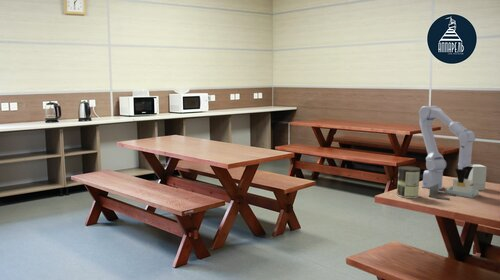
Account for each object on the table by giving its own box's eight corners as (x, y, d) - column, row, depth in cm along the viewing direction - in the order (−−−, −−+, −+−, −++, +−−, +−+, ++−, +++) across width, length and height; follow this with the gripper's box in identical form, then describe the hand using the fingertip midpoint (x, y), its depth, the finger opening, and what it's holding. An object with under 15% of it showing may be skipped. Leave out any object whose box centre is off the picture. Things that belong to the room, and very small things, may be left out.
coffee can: (393, 196, 243) (395, 168, 241) (400, 192, 252) (402, 165, 250) (414, 199, 238) (416, 170, 236) (421, 195, 246) (423, 167, 244)
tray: (445, 193, 251) (445, 189, 250) (451, 190, 258) (452, 186, 258) (473, 198, 242) (473, 193, 242) (478, 194, 250) (478, 190, 250)
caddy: (452, 192, 251) (453, 179, 250) (455, 190, 255) (456, 177, 254) (471, 195, 245) (472, 181, 244) (474, 193, 249) (475, 180, 248)
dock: (429, 196, 243) (429, 186, 243) (436, 192, 252) (437, 183, 251) (449, 200, 237) (450, 190, 237) (456, 196, 246) (457, 186, 245)
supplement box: (485, 190, 260) (487, 166, 259) (471, 189, 261) (473, 166, 259) (479, 187, 268) (481, 164, 266) (465, 186, 268) (467, 163, 266)
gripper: (469, 157, 240) (467, 184, 242) (477, 154, 251) (475, 180, 253) (454, 155, 244) (452, 182, 246) (463, 152, 255) (460, 178, 257)
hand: (462, 181), depth 250 cm, fingers open, 7 cm apart
